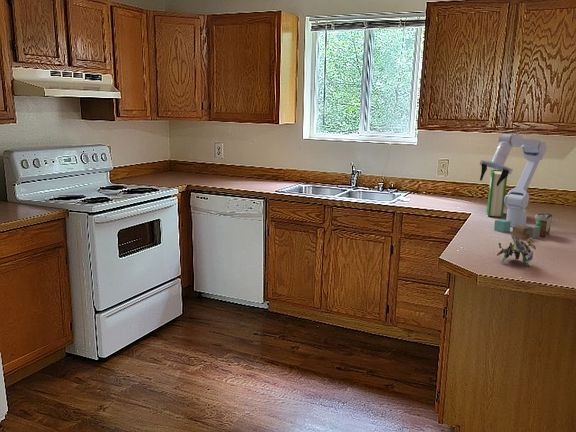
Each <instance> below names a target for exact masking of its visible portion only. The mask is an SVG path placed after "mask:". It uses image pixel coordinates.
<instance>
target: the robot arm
mask: <svg viewBox="0 0 576 432" xmlns="http://www.w3.org/2000/svg"><path fill="white" fill-rule="evenodd" d="M520 147H521V151H522V153H523V156H524V157H523V158H524V159H525V160H526V163H525V166H524V168H523V170H522V172H521V175H520V177H519V179H518V182H517V184H516V186H515V187H514V188H512V189H510V190H509V191H508V193H506V194H505V199H504V206H505V207H506V208H507V210H506V219H505V220H508V221H511V226H510V227H512V228H513V226H519V225H520V226H524V225H527V217H528V215H527V214H528V212H527V209H526V208H527V207H528V205H529V200H530V194H529V193H528V191H527V190H528V188H529V186H530V184H531V181H532V179H533V176H534V174H535V173H536V170H537V168H538V165H539V163H540V161H542V160H543V158H544V156H545V154H546V151H547V143H546V141H544V140H541V139H536V138H528V137H527V138H525V137H523V135H520V133H513V132H512V133H502V134H501V135H500V136H499V137H498V143H497V148H496V150H495V151H494V155H493V157H492V159H491V160H483V159H481V160H480V161H479V166H481V172H480V177H479V181H481V182H482V181H483V179H484V176H485V174H486V172H487V171H488V168H491V169H493V170H500V171H502V174H501V176H500V178H499V180H498V182H497V186H498V185H499V184H500V183H501V182H502V180H504V179H505V178H506V177H507V178H508V176H509V175H512V173H513V168H511V167H508V166H506V165H505V164H506V161H507V160H508V157H509V155H510V152H511V150H512V149H513V148H520Z"/></svg>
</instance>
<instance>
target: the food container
mask: <svg viewBox="0 0 576 432" xmlns="http://www.w3.org/2000/svg"><path fill="white" fill-rule="evenodd" d="M552 218H553V212H543V211H542V212H537V213H536V214H535V216H534V219H535V226H540V227H541V230H540V237H539V238H543V239H546V238H547V237H548V236H549V235H550V230H551V225H552V220H553V219H552Z"/></svg>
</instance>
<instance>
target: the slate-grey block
mask: <svg viewBox="0 0 576 432" xmlns="http://www.w3.org/2000/svg"><path fill="white" fill-rule="evenodd" d="M524 226H525V227H529V228H530V231H529V238H530V239H537V238H541V237H540V230H541V227H540V226H536V224H526V225H524ZM529 238H528V239H529Z"/></svg>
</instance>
